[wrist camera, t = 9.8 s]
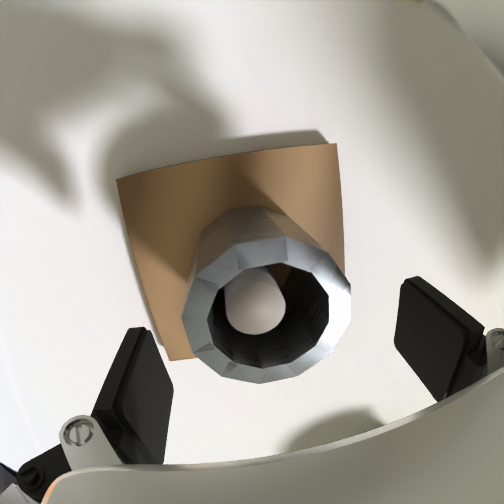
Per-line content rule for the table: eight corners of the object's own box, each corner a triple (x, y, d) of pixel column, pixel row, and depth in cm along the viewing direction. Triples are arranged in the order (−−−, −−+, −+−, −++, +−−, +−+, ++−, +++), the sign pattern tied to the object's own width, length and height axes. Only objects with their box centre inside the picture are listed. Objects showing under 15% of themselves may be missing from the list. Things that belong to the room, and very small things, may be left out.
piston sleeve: (301, 198, 15) (349, 225, 10) (309, 301, 17) (347, 362, 12) (183, 217, 15) (164, 257, 9) (206, 320, 17) (206, 392, 11)
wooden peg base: (329, 143, 15) (385, 142, 10) (338, 320, 20) (375, 375, 14) (121, 177, 15) (74, 192, 9) (171, 352, 19) (161, 417, 13)
